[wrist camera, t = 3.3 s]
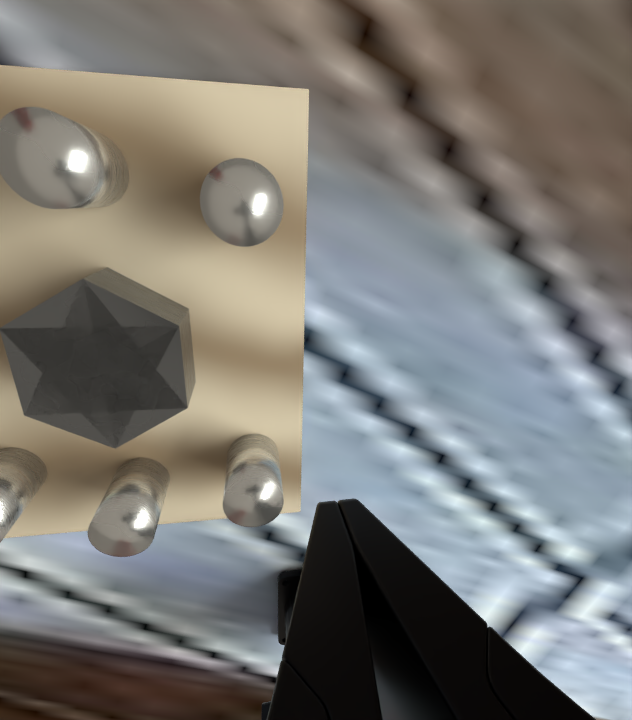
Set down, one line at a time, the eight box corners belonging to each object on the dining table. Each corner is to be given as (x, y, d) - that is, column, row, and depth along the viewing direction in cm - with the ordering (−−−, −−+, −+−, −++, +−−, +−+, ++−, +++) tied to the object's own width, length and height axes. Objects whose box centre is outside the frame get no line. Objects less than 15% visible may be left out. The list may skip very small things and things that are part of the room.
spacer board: (298, 497, 23) (300, 511, 22) (17, 520, 21) (4, 538, 20) (304, 97, 15) (308, 89, 14) (-135, 64, 13) (-170, 51, 12)
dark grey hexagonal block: (199, 414, 19) (191, 444, 16) (62, 421, 18) (34, 453, 15) (185, 267, 16) (174, 278, 14) (25, 266, 15) (-16, 278, 13)
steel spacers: (278, 488, 21) (283, 540, 18) (-1, 511, 19) (-52, 574, 16) (276, 139, 15) (283, 123, 12) (-140, 115, 13) (-271, 87, 10)
